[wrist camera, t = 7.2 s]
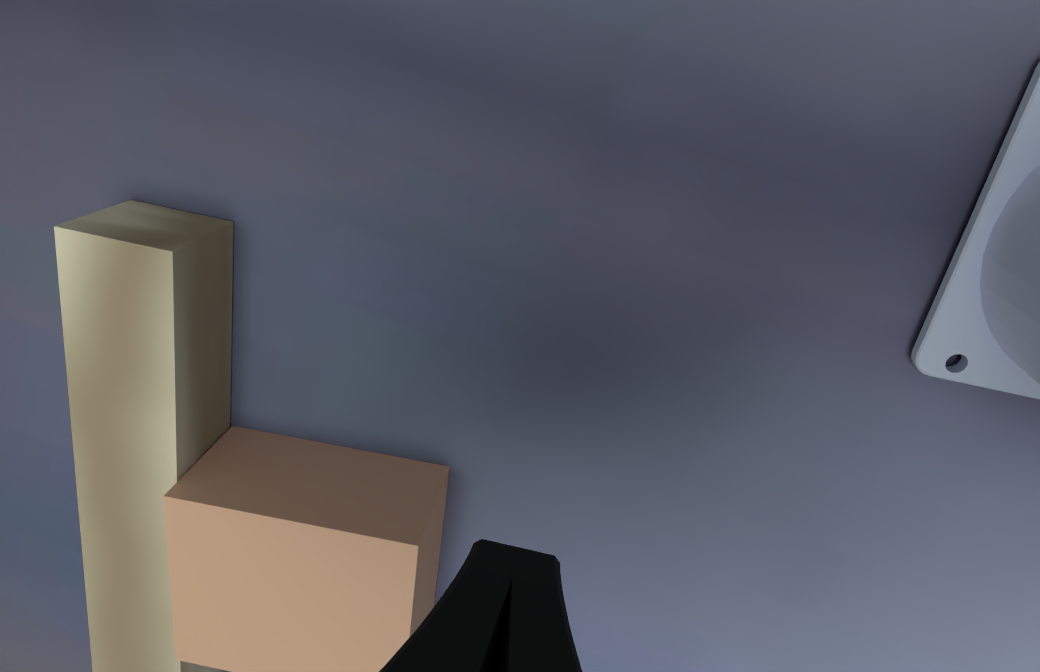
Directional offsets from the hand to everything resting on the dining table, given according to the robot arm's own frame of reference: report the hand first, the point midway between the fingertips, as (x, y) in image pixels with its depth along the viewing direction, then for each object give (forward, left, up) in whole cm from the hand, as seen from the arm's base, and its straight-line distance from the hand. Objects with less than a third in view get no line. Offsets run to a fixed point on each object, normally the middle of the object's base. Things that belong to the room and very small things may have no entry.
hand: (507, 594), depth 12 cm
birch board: (+11, +8, -9) cm, 17 cm away
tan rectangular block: (+6, +8, -10) cm, 14 cm away
